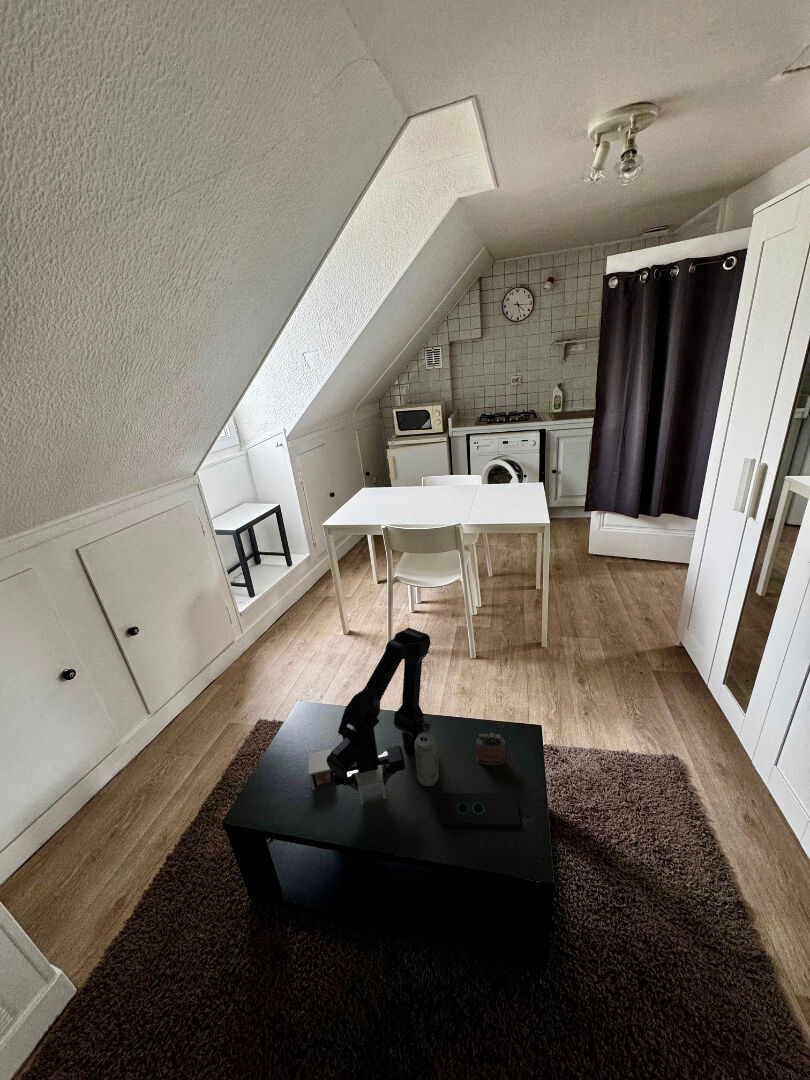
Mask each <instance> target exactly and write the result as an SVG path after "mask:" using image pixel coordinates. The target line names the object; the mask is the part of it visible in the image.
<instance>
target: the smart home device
mask: <svg viewBox="0 0 810 1080" xmlns="http://www.w3.org/2000/svg"><path fill="white" fill-rule="evenodd" d="M439 820H440V821H439V823H440V825H441V826H448V827H449V826H452V827H455V826H456V827H493V828H494V827H496V828H520V827H521V824H522V823H521V817H520V811H519V805H518V799H517V795H516V794H515V793H500V792H499V793H498V792H497V793H496V792H493V793H492V792H489V793H488V792H441V793H439Z"/></svg>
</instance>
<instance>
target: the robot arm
mask: <svg viewBox="0 0 810 1080" xmlns="http://www.w3.org/2000/svg"><path fill="white" fill-rule="evenodd" d="M394 634H395V635H394V637H393V639H390V640H389V641H387V643H386V646H385V651H384V653H383V654H382V656H381V658H380V659H379V661H378V663H377V665H376V666H375V669H374V670H373V672H372V673H371V676H370V677H369V679H368V681H367V683H366V684H365V686H364V688H363V689H362V690H361V691H359V692H358V693H356V694H354V695H353V697H352V698H351V700H349V702H348V704H347V705H346V706H345V707H344V711H343V714H342V718H341V721H340V725H339V727H338V730H337V731H338V732H337V734H339V735H340V736H342V740H341V742H339V744H338V745H336V747H334V748H333V749H332V751H331V754H330V755H329V756H328V757H327V759H326V761H327V764H328V766H329V768H330V769H331V783H332V785H333V786H335V787H337V786H342V785H343V786H345V787H346V786H348V787H351V788H352V789H353V790H355V791H356V792H358V793H359V791H358V783H357V773H364V772H368V771H372V770H377V769H378V765H381V766H382V775H383V781H384V786H387V783H388V781H389V780H390V778H391V777H392V776H393V775H395V774H396V773H397V772H401V771H404V770H405V769H406V763H405V758H404V753H403V750H402V746H400V745H394V746H389V747H387V748H385V749H386V751H383V753H382V754H378V748H377V741H376V735H375V734H376V731H375V727H376V726H377V725H378V724H379V722H380V719H379V718H378V717H379V715H380V713H381V700H382V698H383V697H384V694H385V692H386V690H387V688H388V686H389V685H390V684H391V681H392V679H393V677H394V675H395V674H396V672H397V670H398V667H400V665H401V662H403V661H402V660H404V665H403V666H404V667H403V684H402V699H401V700H402V701H401V705H400V707H399V708H398V709H397V710H396V711H395V712H394V717H393V718H394V720H393V723H392V724H393V725H394V728H395V729H397V730H398V731H402V732H401V738H402V739H401V740H402V745H403V748H404V749H405V752H406V755H408V756H410V755H414V754H415V746H414V743H415V740H416V738H417V736H418V735H419V734H420V733H422V732H428V733H430V732H429V731H431V723H429V722H427V721H425V720H424V719H425V718H424V717H425V715H424V713H423V712H424V711H423V710H422V709H421V706H420V697H421V695H420V694H421V682H422V681H421V680H422V667H423V666H422V665H423V660H424V659H425V657H426V656H427V655H428V653H429V649H430V646H431V637H430V635H429V634H428V633H426V632H423V631H419V630H417V629H414V628H411V627H407V628H405V629H404V630H401V631H400V632H396V633H394ZM348 725H350V726H352V728H350V727H348Z"/></svg>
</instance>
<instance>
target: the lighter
mask: <svg viewBox="0 0 810 1080" xmlns="http://www.w3.org/2000/svg"><path fill="white" fill-rule="evenodd" d="M475 742H476V743H475V744H476V763H478V764H480V765H485V766H500V765H504V764H505V763H506V762H505V761H506V758H505V747H506V741H505V738H503V737H502V736H501V734H499V733H498V734H496V733H495V732H489V733H479V734H478V737H477V738H476V741H475Z"/></svg>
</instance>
